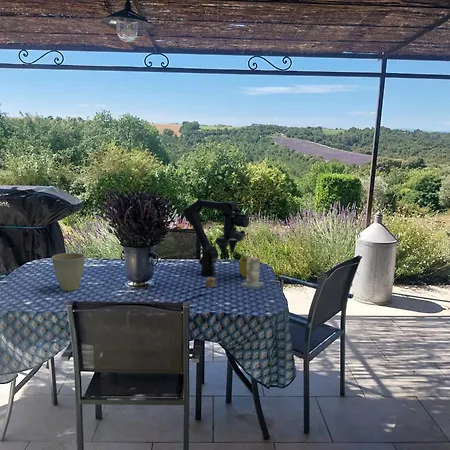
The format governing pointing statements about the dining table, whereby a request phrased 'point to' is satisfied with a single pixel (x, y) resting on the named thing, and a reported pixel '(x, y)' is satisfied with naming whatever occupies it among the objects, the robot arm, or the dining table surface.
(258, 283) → the slate plinth
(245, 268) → the flower pot
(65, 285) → the plant pot
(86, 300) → the dining table surface
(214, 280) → the walnut cube
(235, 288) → the dining table surface
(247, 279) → the beech pillar
